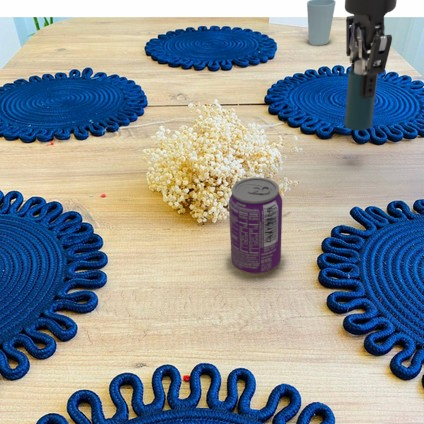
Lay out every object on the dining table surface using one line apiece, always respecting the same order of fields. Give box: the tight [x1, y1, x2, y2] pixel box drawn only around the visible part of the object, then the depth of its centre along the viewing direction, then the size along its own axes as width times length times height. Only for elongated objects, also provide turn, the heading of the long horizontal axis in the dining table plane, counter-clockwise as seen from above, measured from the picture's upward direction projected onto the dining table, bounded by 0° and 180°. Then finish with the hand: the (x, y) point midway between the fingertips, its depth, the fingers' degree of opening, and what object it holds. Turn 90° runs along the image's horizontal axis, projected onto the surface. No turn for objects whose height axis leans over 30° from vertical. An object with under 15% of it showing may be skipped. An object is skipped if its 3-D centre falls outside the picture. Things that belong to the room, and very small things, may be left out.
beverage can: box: [228, 177, 283, 274], centre depth 73 cm, size 7×7×12 cm
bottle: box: [344, 60, 379, 131], centre depth 89 cm, size 5×5×10 cm
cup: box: [306, 0, 336, 46], centre depth 149 cm, size 8×8×10 cm
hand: (361, 91), depth 89 cm, fingers closed on bottle, 4 cm apart
